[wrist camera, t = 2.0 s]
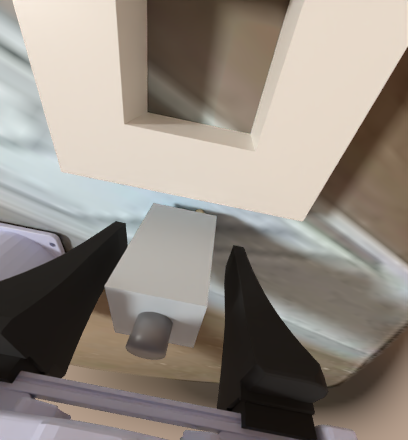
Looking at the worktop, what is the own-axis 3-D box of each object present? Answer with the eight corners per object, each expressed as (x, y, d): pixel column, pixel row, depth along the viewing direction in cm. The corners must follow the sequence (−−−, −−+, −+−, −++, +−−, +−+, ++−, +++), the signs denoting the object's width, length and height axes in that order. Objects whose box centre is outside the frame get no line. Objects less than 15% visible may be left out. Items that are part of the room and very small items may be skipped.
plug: (207, 248, 16) (189, 376, 9) (156, 238, 16) (102, 359, 9) (217, 207, 13) (203, 340, 7) (158, 194, 13) (86, 317, 7)
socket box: (290, 193, 12) (305, 226, 10) (93, 152, 12) (55, 175, 9) (462, -156, 5) (665, -354, 3) (23, -257, 5) (-169, -553, 3)
